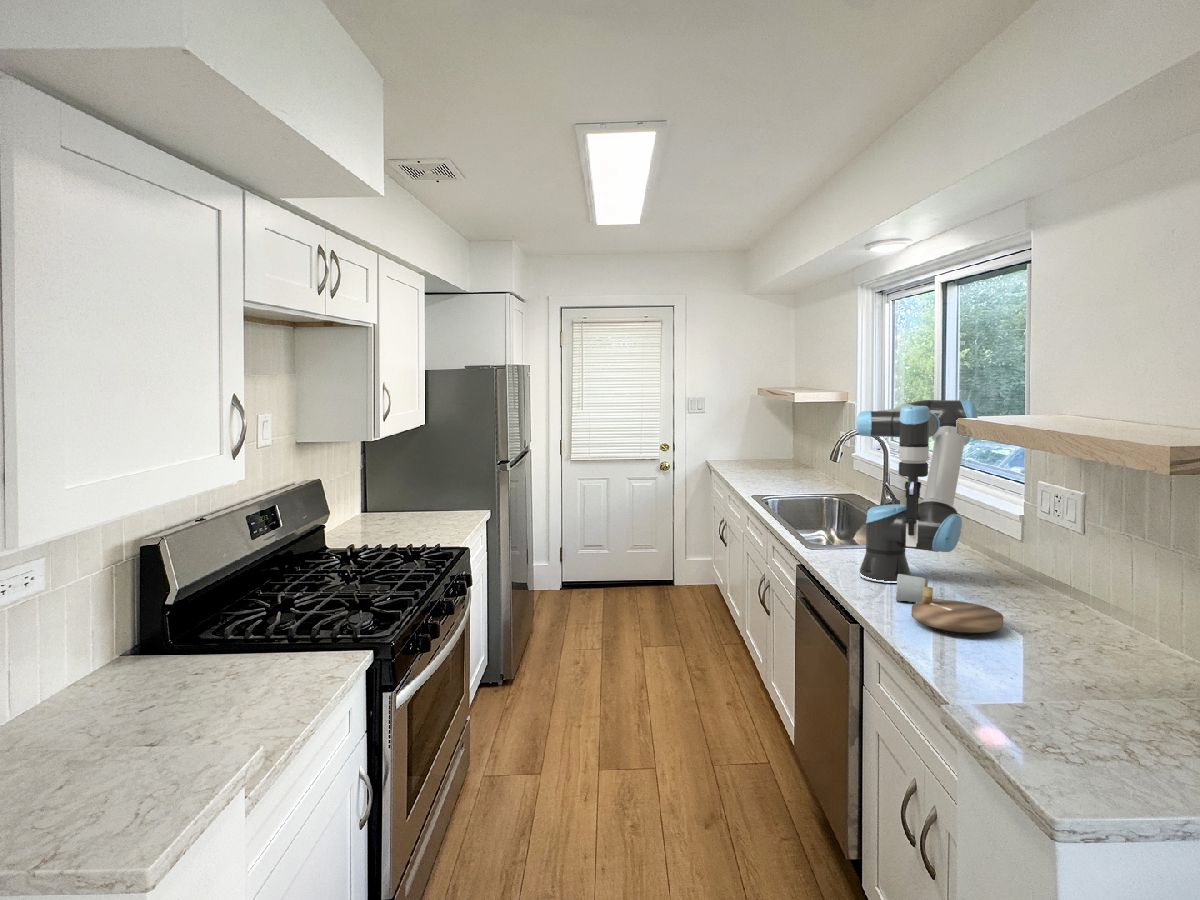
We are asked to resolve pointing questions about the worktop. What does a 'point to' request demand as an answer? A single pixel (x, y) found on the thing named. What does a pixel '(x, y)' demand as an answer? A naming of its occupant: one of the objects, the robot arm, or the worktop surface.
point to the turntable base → (956, 631)
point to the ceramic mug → (910, 588)
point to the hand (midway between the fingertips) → (911, 544)
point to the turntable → (955, 615)
